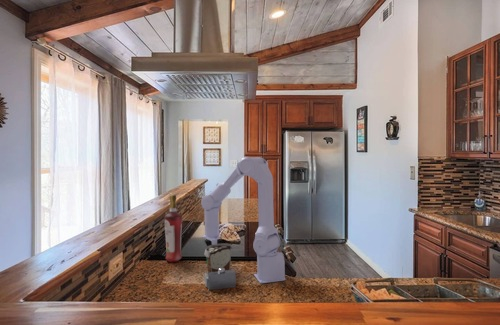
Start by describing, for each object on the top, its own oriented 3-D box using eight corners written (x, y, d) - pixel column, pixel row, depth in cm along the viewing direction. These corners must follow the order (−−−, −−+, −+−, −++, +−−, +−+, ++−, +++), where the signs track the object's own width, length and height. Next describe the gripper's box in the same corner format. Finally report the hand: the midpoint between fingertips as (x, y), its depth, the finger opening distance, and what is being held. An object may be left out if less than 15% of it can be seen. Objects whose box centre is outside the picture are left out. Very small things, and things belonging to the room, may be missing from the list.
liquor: (161, 260, 124) (160, 195, 124) (175, 256, 130) (174, 193, 129) (171, 264, 119) (170, 196, 119) (186, 259, 125) (185, 194, 125)
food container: (221, 266, 117) (221, 241, 117) (232, 269, 113) (232, 244, 113) (197, 275, 107) (197, 248, 107) (209, 279, 103) (208, 251, 103)
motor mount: (232, 278, 105) (232, 261, 105) (237, 286, 97) (236, 268, 97) (204, 281, 102) (204, 264, 102) (207, 290, 95) (206, 271, 95)
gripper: (200, 221, 124) (200, 253, 124) (203, 229, 110) (204, 264, 110) (216, 220, 126) (216, 251, 126) (222, 227, 112) (222, 262, 112)
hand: (212, 257), depth 118 cm, fingers closed
